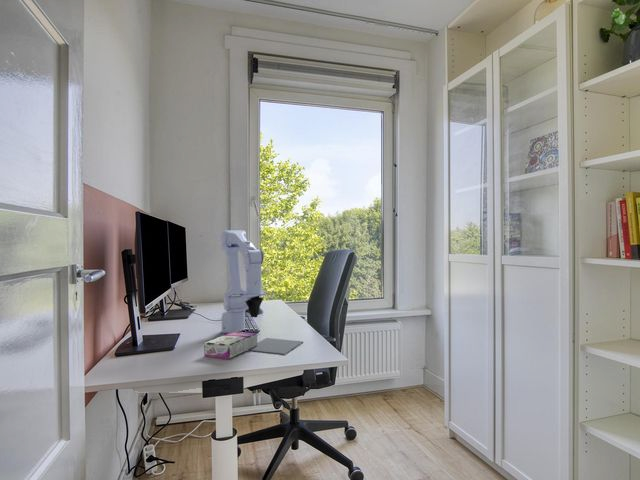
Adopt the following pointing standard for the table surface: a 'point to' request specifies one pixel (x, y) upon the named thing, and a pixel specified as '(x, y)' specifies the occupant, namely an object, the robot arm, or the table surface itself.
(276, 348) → the charcoal mat
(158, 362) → the table surface
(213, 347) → the candy bar box
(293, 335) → the table surface
